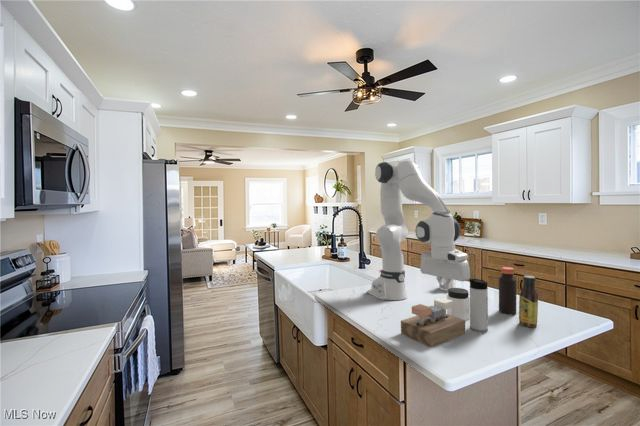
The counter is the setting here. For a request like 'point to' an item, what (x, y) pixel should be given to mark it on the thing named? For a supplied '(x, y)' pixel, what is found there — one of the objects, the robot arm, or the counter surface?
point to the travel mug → (478, 305)
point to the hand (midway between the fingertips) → (444, 288)
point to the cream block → (443, 305)
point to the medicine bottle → (451, 284)
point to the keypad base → (433, 329)
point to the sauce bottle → (528, 303)
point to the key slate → (435, 313)
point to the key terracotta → (421, 312)
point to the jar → (459, 303)
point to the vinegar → (507, 291)
